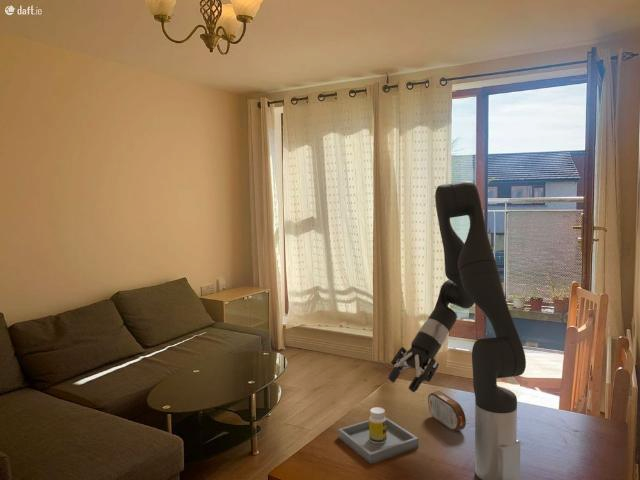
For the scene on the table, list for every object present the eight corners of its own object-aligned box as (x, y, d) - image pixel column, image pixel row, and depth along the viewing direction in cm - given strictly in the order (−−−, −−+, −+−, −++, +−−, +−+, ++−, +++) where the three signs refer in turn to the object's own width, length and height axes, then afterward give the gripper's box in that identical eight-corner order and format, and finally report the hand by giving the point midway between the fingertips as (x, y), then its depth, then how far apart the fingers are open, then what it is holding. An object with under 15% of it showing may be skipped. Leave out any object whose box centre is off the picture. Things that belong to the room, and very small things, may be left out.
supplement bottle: (386, 445, 127) (385, 414, 126) (368, 443, 128) (367, 413, 127) (387, 436, 131) (386, 407, 131) (370, 434, 132) (369, 405, 132)
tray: (418, 447, 126) (418, 438, 126) (370, 464, 119) (370, 454, 119) (383, 423, 140) (383, 415, 140) (338, 437, 133) (338, 429, 132)
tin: (466, 434, 132) (466, 405, 132) (457, 437, 131) (457, 407, 130) (434, 412, 146) (434, 386, 146) (426, 414, 145) (426, 388, 144)
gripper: (406, 325, 142) (377, 371, 137) (441, 336, 130) (410, 386, 125) (420, 339, 145) (391, 384, 140) (455, 351, 133) (425, 401, 128)
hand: (400, 385), depth 132 cm, fingers open, 8 cm apart
